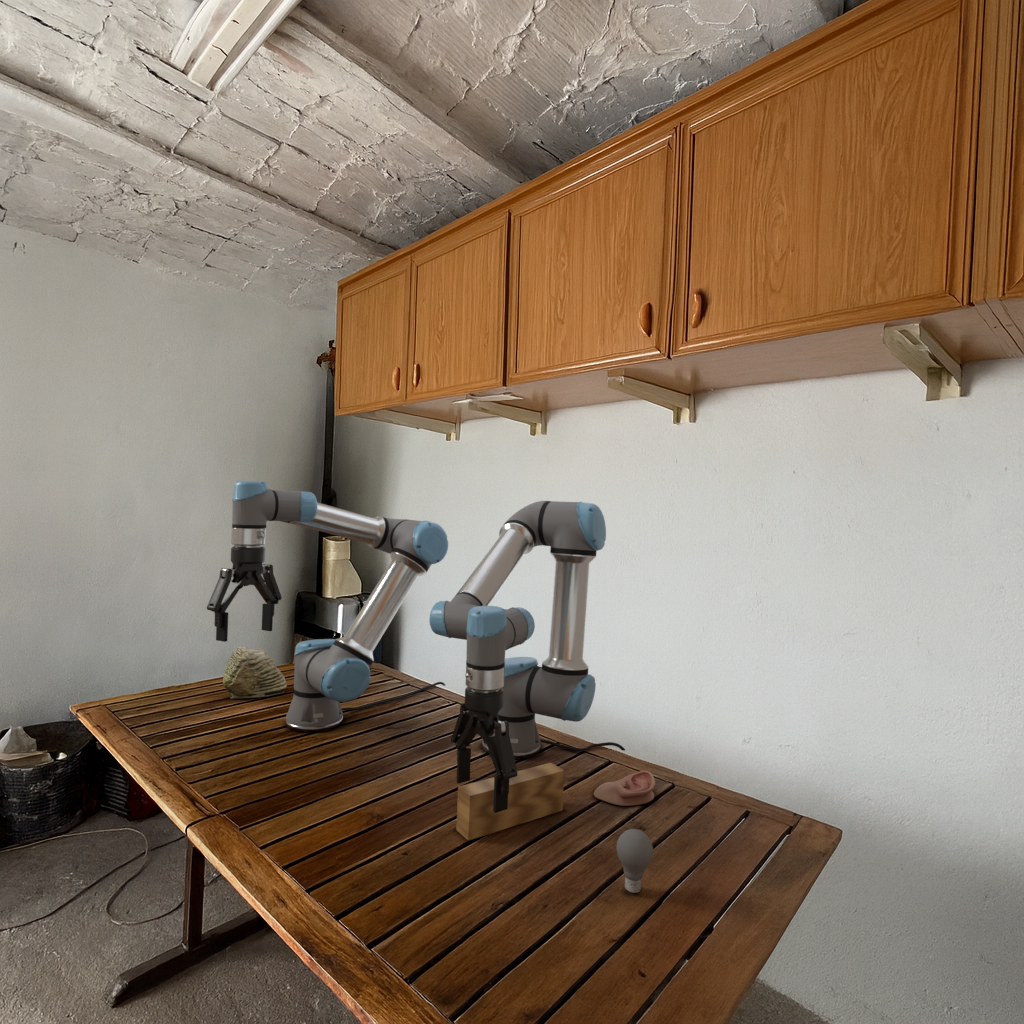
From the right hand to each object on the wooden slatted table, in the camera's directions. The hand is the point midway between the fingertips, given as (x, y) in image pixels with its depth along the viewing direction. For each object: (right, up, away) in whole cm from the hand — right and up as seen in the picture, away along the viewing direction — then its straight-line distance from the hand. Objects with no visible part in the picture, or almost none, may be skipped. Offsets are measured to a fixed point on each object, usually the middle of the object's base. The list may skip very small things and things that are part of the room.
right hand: (480, 795), depth 123 cm
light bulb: (+26, -8, -18) cm, 33 cm away
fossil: (-75, -2, +75) cm, 106 cm away
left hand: (-57, +26, +27) cm, 68 cm away
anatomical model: (+31, -8, +17) cm, 36 cm away
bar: (+6, -7, +4) cm, 10 cm away
